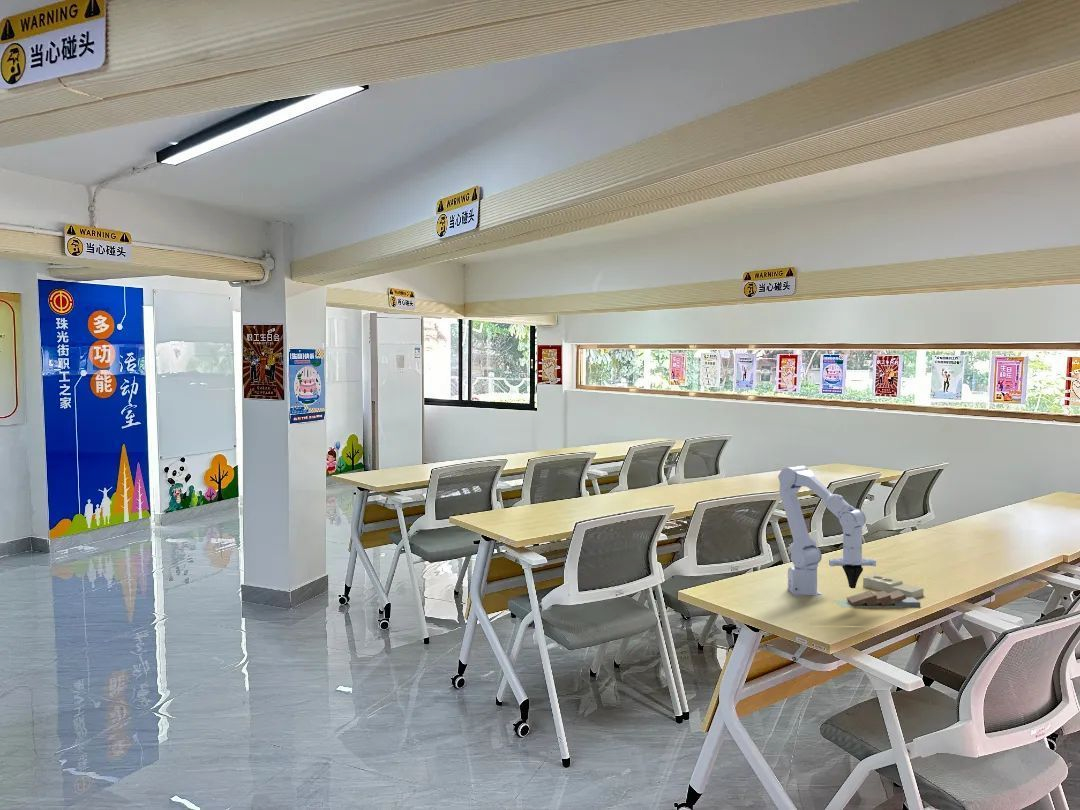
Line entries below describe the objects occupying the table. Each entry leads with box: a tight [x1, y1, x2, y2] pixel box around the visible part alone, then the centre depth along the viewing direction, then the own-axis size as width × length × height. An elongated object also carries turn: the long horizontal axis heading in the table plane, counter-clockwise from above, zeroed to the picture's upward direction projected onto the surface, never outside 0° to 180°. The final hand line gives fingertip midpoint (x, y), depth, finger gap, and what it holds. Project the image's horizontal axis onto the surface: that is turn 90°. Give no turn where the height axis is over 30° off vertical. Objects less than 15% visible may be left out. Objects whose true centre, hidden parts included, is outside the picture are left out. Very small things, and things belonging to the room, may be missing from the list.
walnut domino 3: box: [878, 590, 906, 608], centre depth 241 cm, size 1×5×8 cm
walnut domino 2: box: [864, 591, 891, 606], centre depth 241 cm, size 1×5×8 cm
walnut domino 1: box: [846, 590, 877, 606], centre depth 241 cm, size 1×5×8 cm
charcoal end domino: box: [892, 597, 921, 608], centre depth 240 cm, size 1×5×8 cm
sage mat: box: [833, 599, 896, 608], centre depth 241 cm, size 20×7×1 cm, turn 88°
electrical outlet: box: [862, 573, 924, 599], centre depth 255 cm, size 7×4×18 cm
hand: (852, 587), depth 241 cm, fingers closed
